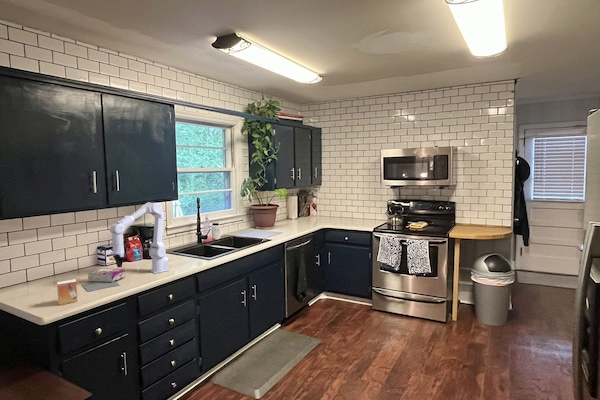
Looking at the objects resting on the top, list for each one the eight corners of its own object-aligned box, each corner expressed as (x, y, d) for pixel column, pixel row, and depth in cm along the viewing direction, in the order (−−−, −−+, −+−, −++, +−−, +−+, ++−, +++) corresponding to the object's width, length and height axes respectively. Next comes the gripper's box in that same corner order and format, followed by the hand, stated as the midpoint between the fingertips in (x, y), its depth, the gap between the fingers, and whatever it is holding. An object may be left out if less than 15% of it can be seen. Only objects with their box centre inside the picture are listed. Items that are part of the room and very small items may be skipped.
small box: (58, 305, 181) (57, 284, 180) (58, 302, 185) (56, 281, 184) (78, 301, 185) (76, 281, 184) (76, 298, 190) (75, 278, 189)
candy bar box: (125, 277, 225) (101, 276, 228) (124, 269, 224) (101, 268, 228) (112, 282, 214) (87, 281, 217) (111, 274, 213) (87, 273, 217)
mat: (112, 279, 223) (112, 278, 223) (119, 285, 211) (119, 284, 211) (81, 284, 213) (81, 284, 213) (87, 291, 200) (87, 291, 200)
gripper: (107, 243, 219) (108, 265, 220) (113, 247, 208) (115, 270, 209) (120, 241, 224) (121, 263, 225) (127, 245, 213) (128, 268, 214)
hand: (119, 267), depth 217 cm, fingers closed
